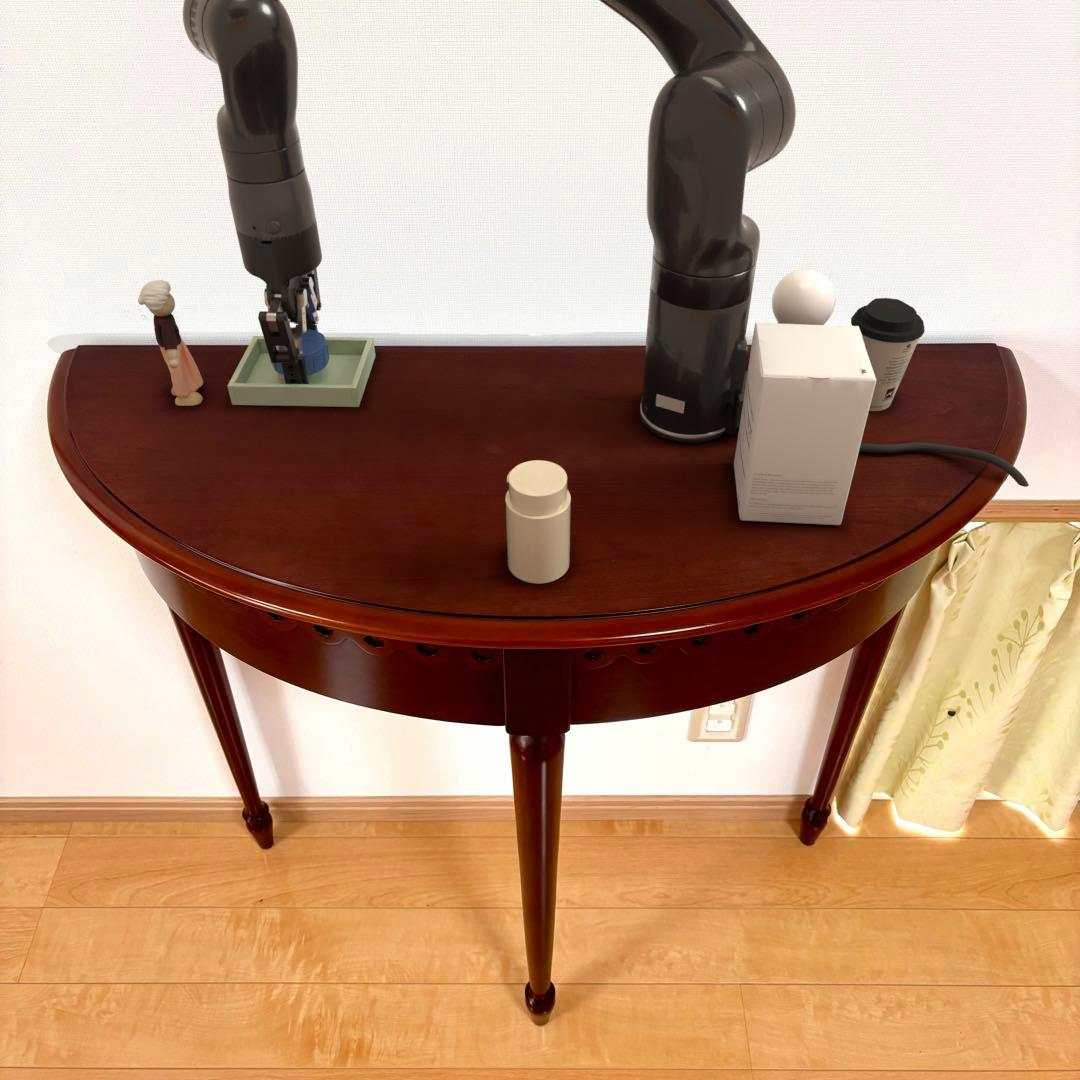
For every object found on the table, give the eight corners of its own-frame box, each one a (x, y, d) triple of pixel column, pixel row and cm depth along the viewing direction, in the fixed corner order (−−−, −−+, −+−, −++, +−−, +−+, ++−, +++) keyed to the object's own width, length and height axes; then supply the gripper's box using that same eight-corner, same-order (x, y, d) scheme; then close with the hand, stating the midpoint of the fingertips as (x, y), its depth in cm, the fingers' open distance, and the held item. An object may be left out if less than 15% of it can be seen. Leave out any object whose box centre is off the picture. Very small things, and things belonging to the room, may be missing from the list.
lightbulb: (749, 359, 105) (764, 265, 98) (798, 347, 107) (816, 254, 100) (782, 388, 101) (800, 291, 93) (832, 375, 102) (854, 279, 95)
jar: (569, 542, 82) (571, 457, 76) (569, 584, 78) (571, 498, 73) (509, 541, 83) (506, 457, 77) (506, 583, 79) (502, 498, 73)
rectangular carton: (829, 466, 90) (863, 323, 80) (842, 527, 84) (881, 379, 74) (731, 461, 91) (753, 318, 81) (736, 521, 84) (761, 374, 74)
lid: (266, 376, 99) (261, 355, 97) (280, 347, 103) (276, 327, 102) (322, 377, 99) (318, 357, 97) (334, 349, 103) (331, 329, 102)
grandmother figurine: (217, 403, 99) (186, 290, 91) (180, 415, 97) (146, 301, 89) (192, 371, 104) (160, 261, 95) (157, 382, 102) (121, 271, 94)
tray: (375, 356, 106) (373, 337, 105) (359, 407, 98) (356, 388, 97) (257, 354, 106) (253, 335, 105) (232, 405, 99) (227, 386, 97)
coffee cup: (909, 419, 96) (936, 330, 89) (838, 416, 97) (860, 327, 90) (896, 382, 101) (920, 295, 95) (829, 379, 102) (848, 292, 95)
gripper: (255, 188, 96) (286, 338, 107) (213, 250, 85) (252, 409, 97) (329, 189, 96) (352, 339, 107) (296, 251, 85) (326, 410, 96)
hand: (304, 371), depth 102 cm, fingers closed on lid, 5 cm apart
